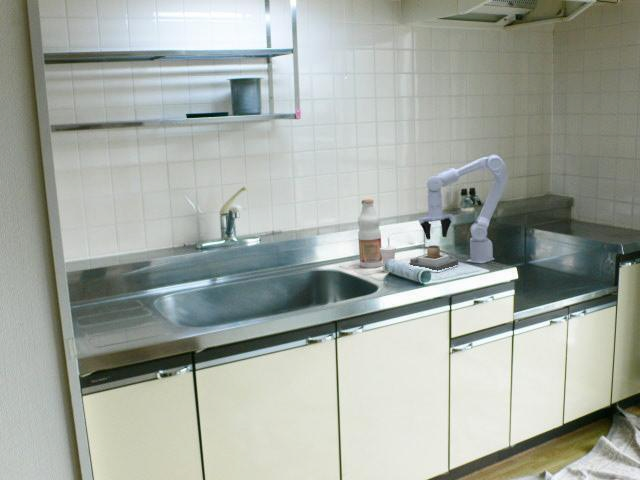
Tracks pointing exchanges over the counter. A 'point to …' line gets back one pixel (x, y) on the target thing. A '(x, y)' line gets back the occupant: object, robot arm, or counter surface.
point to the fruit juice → (369, 236)
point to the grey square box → (434, 262)
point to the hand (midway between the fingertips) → (436, 238)
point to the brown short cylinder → (433, 252)
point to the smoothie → (387, 253)
